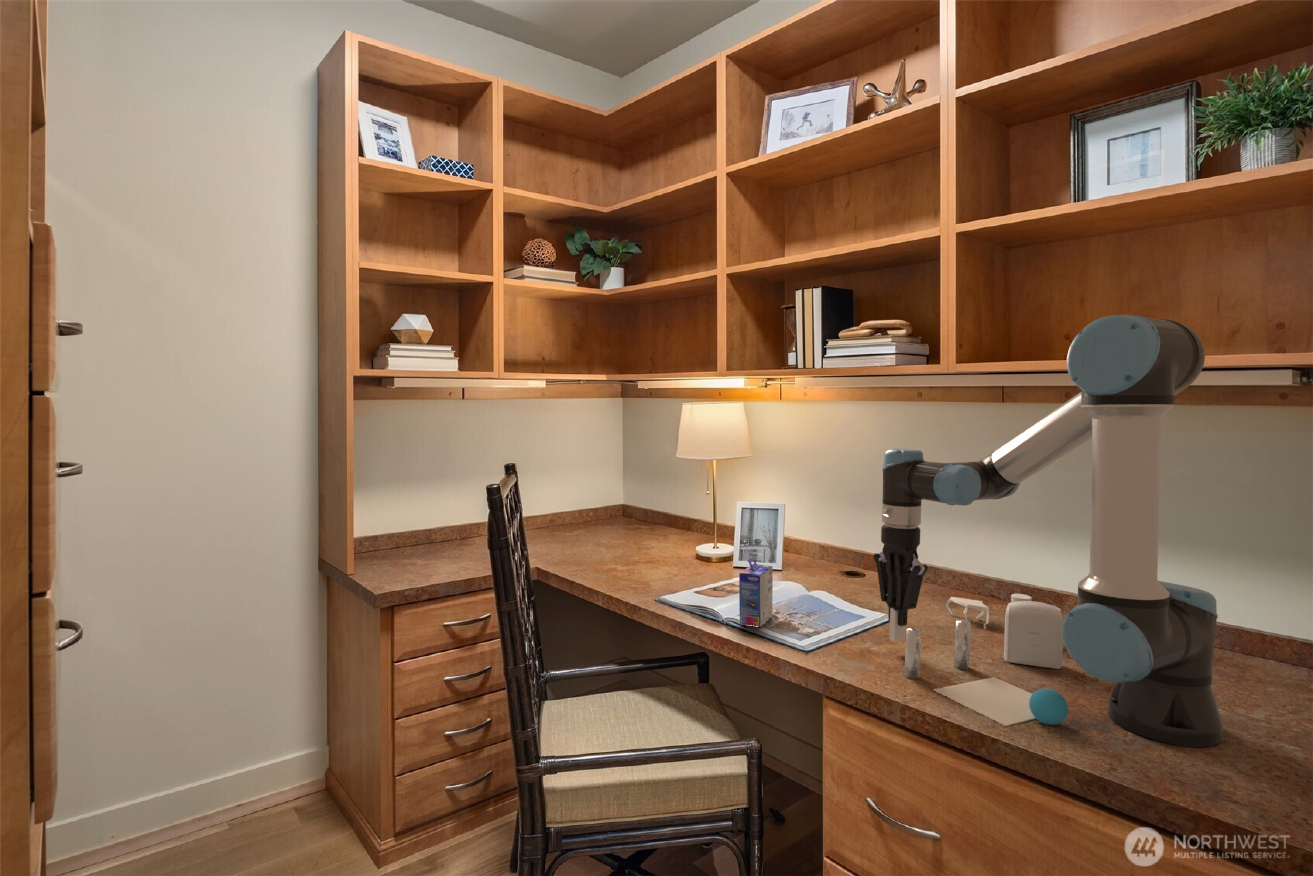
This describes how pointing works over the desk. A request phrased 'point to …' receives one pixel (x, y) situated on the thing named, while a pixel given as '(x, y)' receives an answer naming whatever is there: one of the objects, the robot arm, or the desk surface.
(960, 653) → the gate post right
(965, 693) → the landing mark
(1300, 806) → the desk surface
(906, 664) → the gate post left
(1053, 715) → the ball
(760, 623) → the ink cartridge box
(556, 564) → the desk surface
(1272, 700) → the desk surface
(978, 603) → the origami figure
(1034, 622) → the photo printer
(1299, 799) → the desk surface
